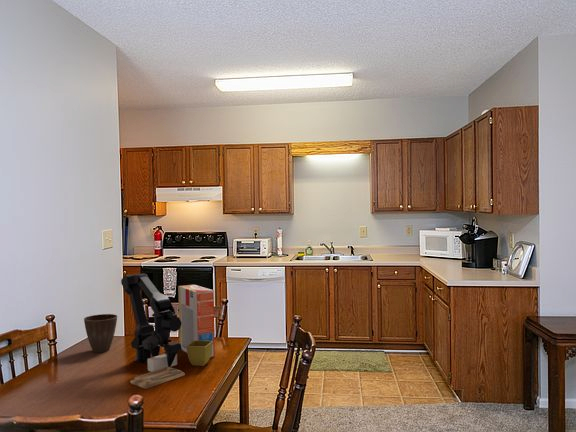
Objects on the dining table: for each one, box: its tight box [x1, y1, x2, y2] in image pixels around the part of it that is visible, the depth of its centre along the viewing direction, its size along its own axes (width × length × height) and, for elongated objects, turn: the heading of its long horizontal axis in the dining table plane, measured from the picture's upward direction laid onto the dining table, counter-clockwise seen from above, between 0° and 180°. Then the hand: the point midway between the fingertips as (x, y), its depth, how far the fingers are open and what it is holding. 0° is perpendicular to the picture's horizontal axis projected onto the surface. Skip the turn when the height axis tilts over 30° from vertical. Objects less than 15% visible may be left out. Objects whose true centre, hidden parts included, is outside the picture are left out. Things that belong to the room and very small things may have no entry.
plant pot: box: [83, 313, 118, 353], centre depth 225 cm, size 15×15×16 cm
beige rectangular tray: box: [129, 366, 186, 389], centre depth 183 cm, size 10×18×3 cm, turn 142°
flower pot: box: [186, 340, 213, 367], centre depth 201 cm, size 9×9×9 cm
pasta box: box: [177, 284, 216, 359], centre depth 219 cm, size 23×8×30 cm, turn 33°
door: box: [147, 353, 178, 372], centre depth 198 cm, size 4×12×5 cm, turn 142°
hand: (162, 364), depth 198 cm, fingers open, 9 cm apart
